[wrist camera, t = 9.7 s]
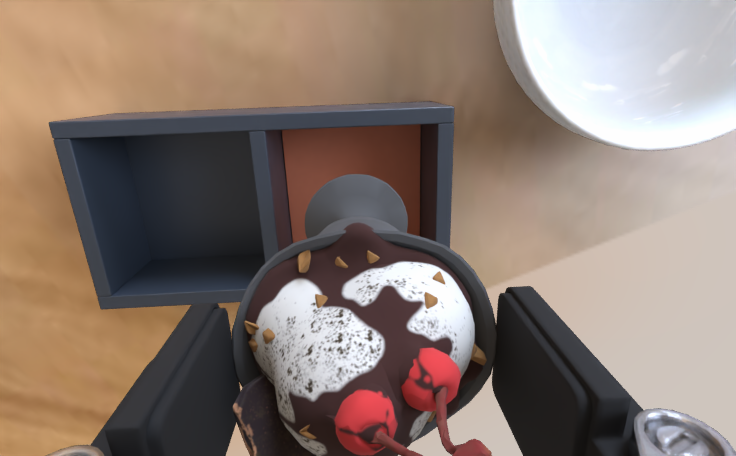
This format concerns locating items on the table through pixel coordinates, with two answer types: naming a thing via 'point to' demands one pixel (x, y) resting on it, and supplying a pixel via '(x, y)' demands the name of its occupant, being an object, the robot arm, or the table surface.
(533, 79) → the cereal bowl
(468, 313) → the sundae
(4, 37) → the table surface
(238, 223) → the caddy
